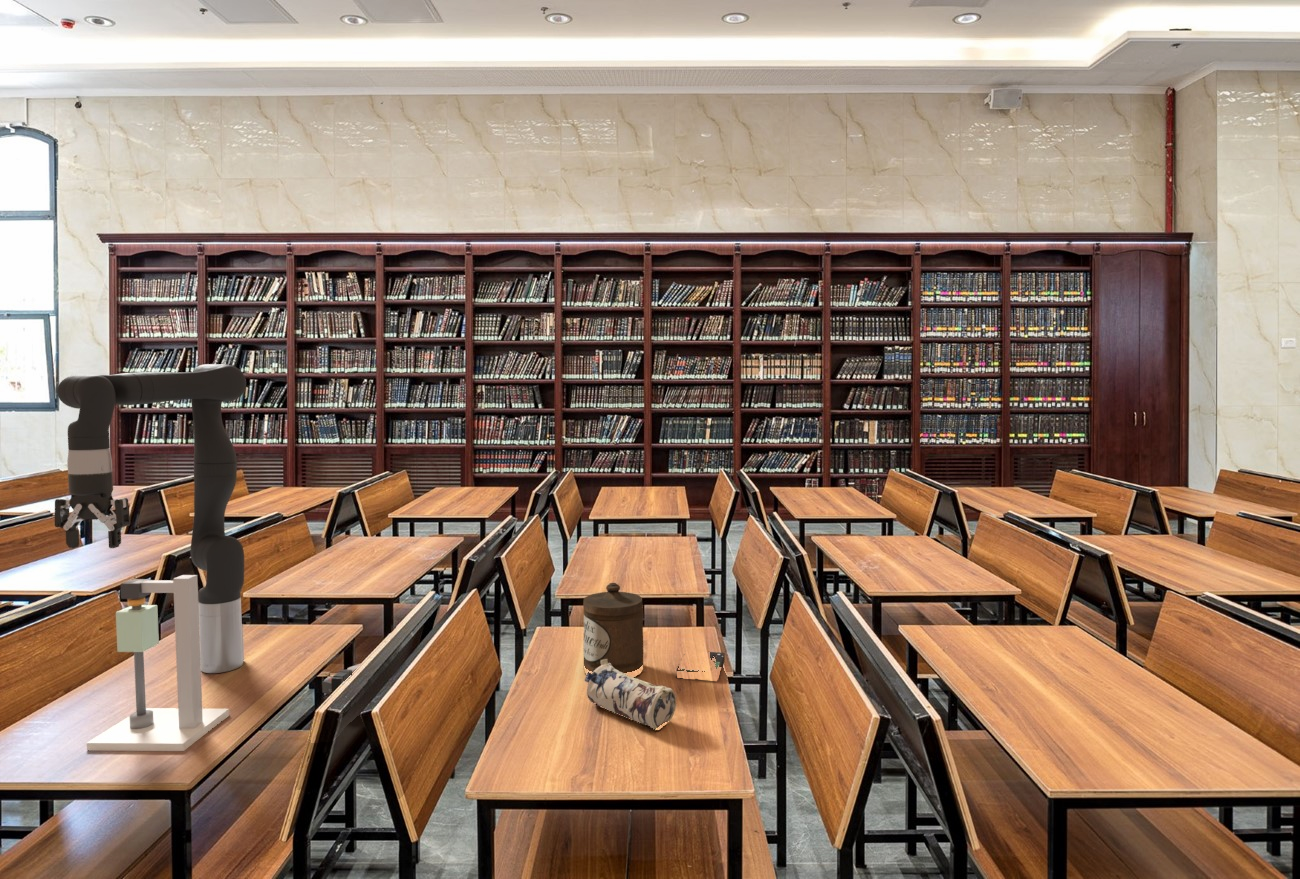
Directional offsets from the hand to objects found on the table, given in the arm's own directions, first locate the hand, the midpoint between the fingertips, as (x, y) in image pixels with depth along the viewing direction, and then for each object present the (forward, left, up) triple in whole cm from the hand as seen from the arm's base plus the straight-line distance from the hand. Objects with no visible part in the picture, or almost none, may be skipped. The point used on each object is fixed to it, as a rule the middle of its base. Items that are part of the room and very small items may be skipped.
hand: (93, 547), depth 161 cm
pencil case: (-1, +113, -36) cm, 119 cm away
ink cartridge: (-4, +50, -36) cm, 62 cm away
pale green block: (+8, +14, -19) cm, 25 cm away
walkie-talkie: (-19, +49, -37) cm, 64 cm away
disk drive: (-29, +130, -37) cm, 138 cm away
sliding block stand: (+8, +18, -36) cm, 41 cm away
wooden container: (-27, +108, -36) cm, 117 cm away
